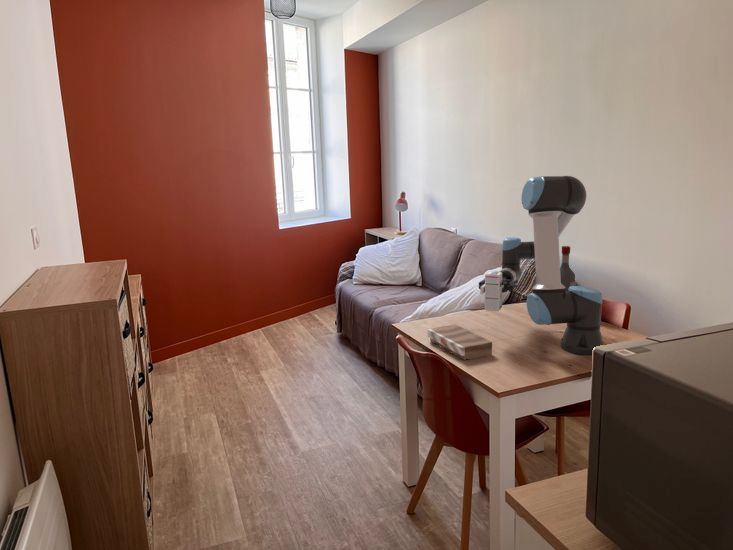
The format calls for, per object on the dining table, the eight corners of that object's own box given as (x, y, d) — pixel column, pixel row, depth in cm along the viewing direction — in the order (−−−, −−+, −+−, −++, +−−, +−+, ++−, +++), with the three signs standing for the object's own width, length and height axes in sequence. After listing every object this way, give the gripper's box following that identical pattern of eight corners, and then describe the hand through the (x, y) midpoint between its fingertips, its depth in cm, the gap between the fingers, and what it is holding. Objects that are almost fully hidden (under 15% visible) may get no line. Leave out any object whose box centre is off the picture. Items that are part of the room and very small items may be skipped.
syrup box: (499, 311, 205) (500, 274, 201) (483, 310, 207) (484, 273, 204) (501, 307, 210) (503, 271, 206) (486, 306, 212) (487, 270, 209)
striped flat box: (491, 354, 196) (492, 342, 195) (461, 361, 191) (461, 348, 190) (455, 336, 217) (455, 324, 216) (427, 341, 212) (426, 329, 211)
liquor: (573, 307, 253) (577, 245, 246) (572, 312, 244) (576, 248, 238) (553, 306, 256) (556, 244, 250) (551, 311, 248) (554, 247, 241)
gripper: (527, 289, 218) (514, 303, 198) (482, 285, 227) (465, 298, 207) (528, 271, 217) (515, 284, 197) (482, 268, 225) (466, 279, 206)
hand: (489, 291), depth 202 cm, fingers closed on syrup box, 6 cm apart
